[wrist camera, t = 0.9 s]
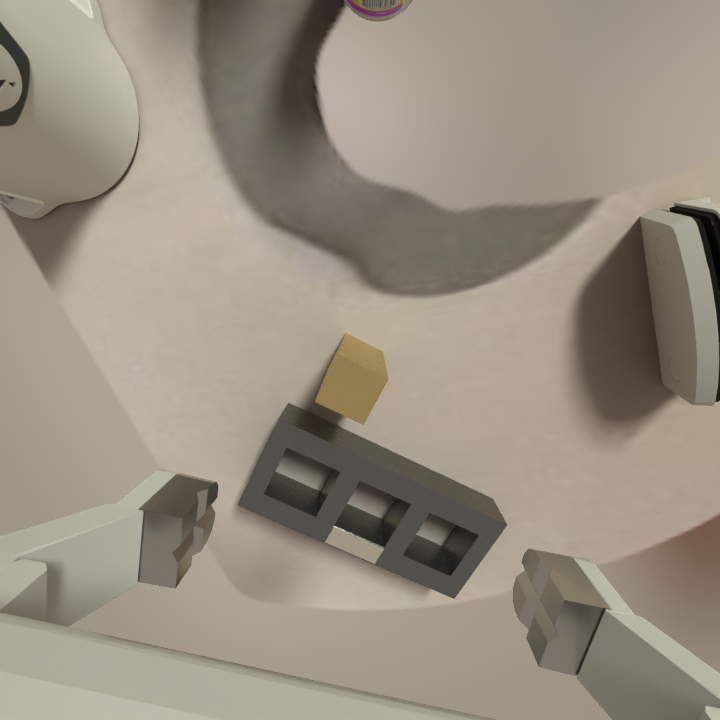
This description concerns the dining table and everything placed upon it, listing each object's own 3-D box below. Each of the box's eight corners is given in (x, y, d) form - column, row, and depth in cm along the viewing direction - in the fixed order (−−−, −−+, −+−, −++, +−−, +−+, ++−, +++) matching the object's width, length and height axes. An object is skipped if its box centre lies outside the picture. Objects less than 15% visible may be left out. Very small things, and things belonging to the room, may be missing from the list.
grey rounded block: (716, 371, 34) (792, 422, 26) (656, 380, 36) (707, 430, 27) (699, 193, 30) (781, 180, 22) (632, 214, 32) (683, 210, 24)
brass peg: (327, 368, 35) (314, 401, 26) (345, 333, 34) (338, 354, 25) (364, 386, 35) (363, 424, 27) (382, 351, 34) (388, 379, 26)
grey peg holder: (250, 481, 38) (237, 505, 34) (288, 402, 36) (278, 419, 32) (445, 567, 40) (454, 599, 36) (492, 498, 38) (507, 525, 34)
